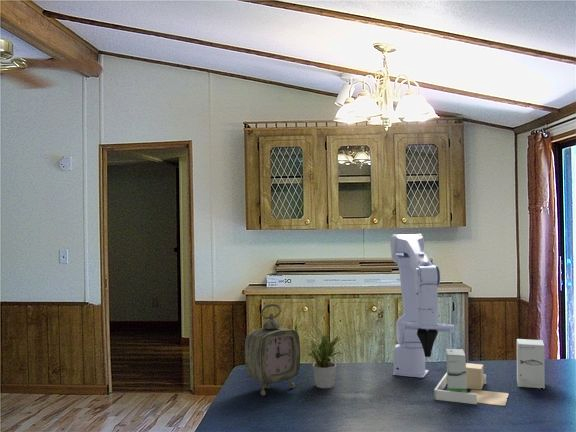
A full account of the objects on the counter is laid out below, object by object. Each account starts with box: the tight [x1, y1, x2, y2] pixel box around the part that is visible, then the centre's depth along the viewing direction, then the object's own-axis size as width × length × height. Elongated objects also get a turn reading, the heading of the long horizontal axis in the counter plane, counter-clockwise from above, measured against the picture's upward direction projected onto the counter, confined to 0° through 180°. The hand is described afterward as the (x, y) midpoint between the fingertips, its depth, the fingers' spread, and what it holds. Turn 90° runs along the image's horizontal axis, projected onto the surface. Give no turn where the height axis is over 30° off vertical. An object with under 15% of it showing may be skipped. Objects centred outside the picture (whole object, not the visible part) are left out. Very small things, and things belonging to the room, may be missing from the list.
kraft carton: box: [466, 362, 485, 391], centre depth 176 cm, size 5×5×6 cm
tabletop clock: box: [244, 303, 301, 397], centre depth 176 cm, size 14×9×25 cm, turn 130°
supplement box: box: [516, 338, 546, 390], centre depth 177 cm, size 7×7×13 cm
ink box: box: [445, 348, 468, 393], centre depth 169 cm, size 9×5×12 cm, turn 168°
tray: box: [433, 371, 487, 405], centre depth 172 cm, size 11×20×3 cm, turn 155°
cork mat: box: [469, 389, 510, 407], centre depth 165 cm, size 10×11×1 cm
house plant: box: [304, 330, 348, 389], centre depth 178 cm, size 14×14×16 cm
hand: (427, 356), depth 172 cm, fingers closed
